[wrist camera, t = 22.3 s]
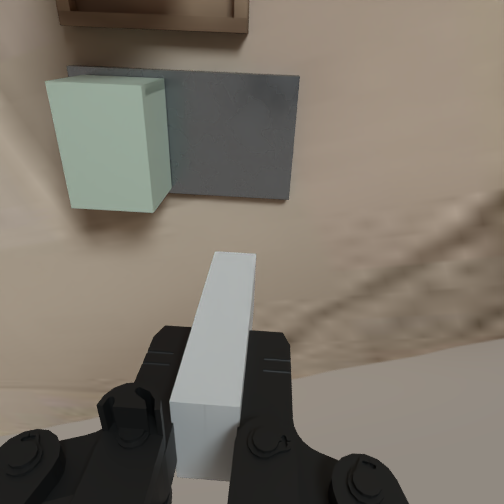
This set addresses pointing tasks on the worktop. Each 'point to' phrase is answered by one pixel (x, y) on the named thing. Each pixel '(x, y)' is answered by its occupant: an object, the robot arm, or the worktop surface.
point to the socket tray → (157, 14)
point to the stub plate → (224, 129)
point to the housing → (112, 140)
